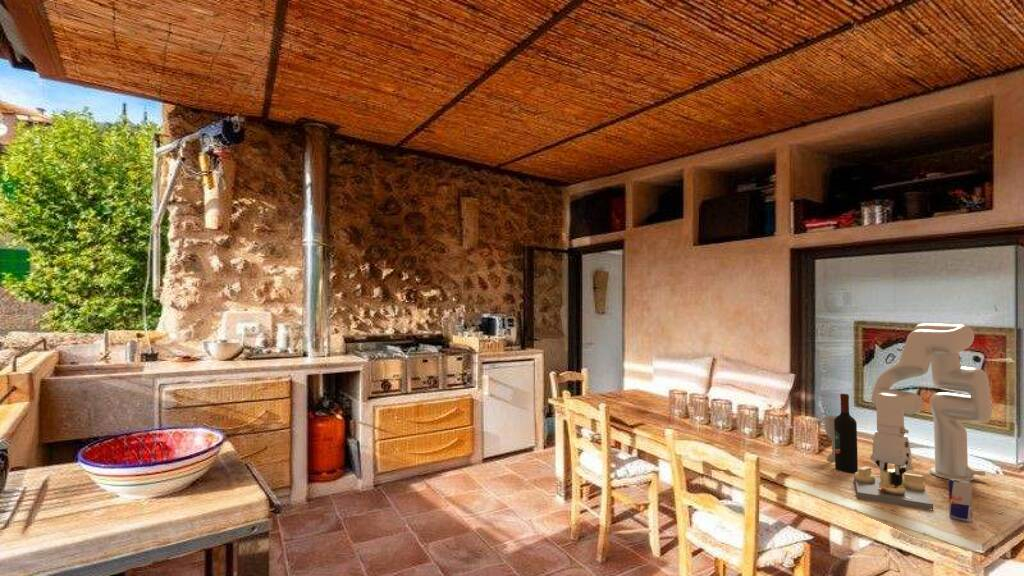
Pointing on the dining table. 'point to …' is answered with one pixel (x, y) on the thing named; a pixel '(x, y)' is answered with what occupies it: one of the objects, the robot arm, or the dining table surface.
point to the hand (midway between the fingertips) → (891, 483)
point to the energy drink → (960, 500)
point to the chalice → (830, 434)
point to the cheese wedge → (890, 483)
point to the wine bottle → (845, 439)
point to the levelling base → (912, 496)
